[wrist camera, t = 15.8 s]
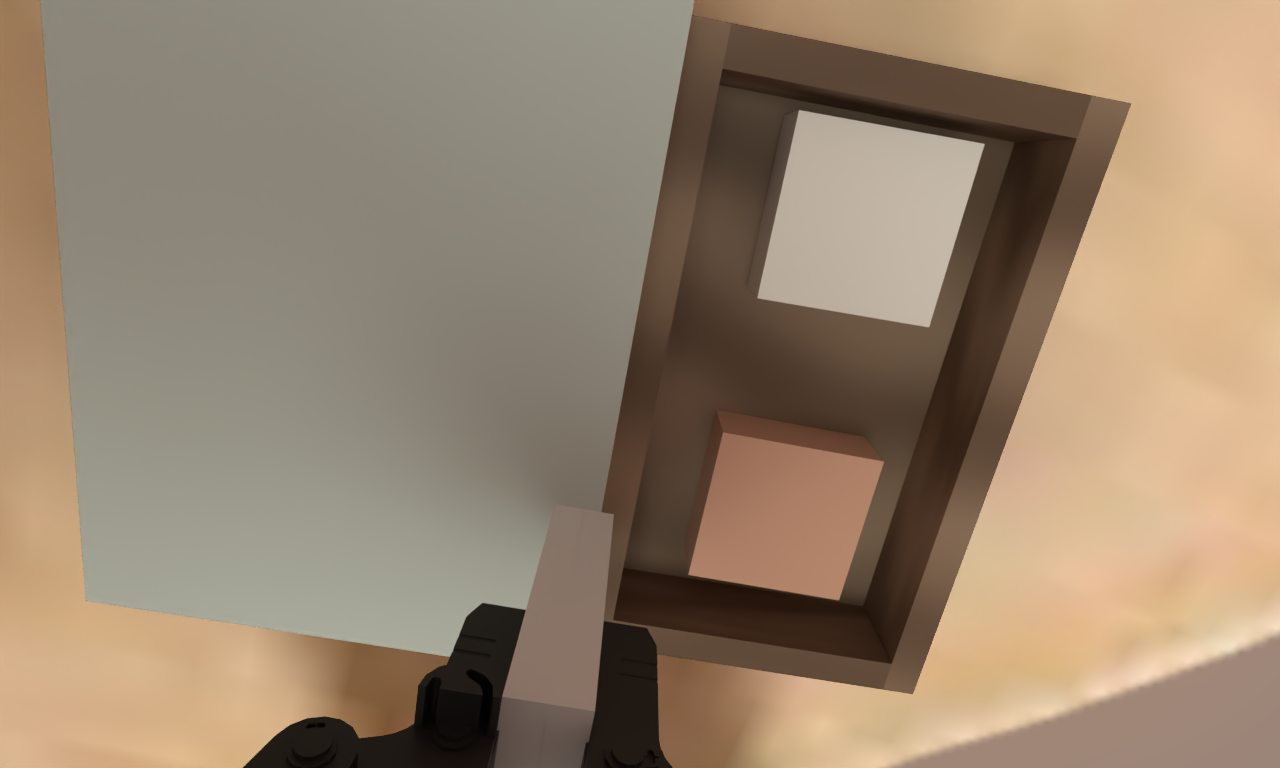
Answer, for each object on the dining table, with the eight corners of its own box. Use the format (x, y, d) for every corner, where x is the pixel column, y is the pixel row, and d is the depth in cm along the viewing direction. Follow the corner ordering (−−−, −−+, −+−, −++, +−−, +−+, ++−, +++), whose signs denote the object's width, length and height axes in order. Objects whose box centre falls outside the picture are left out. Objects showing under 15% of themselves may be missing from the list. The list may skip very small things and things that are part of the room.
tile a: (984, 144, 18) (952, 145, 20) (799, 110, 18) (784, 115, 20) (929, 327, 19) (903, 312, 21) (757, 298, 19) (747, 286, 21)
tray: (682, 40, 20) (690, 15, 16) (1050, 114, 20) (1131, 103, 17) (585, 578, 25) (576, 641, 22) (877, 624, 25) (912, 693, 22)
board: (185, -58, 19) (30, -134, 14) (682, 40, 20) (694, 0, 15) (195, 515, 24) (85, 601, 19) (585, 578, 25) (571, 675, 20)
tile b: (884, 461, 21) (863, 436, 23) (723, 432, 20) (716, 409, 22) (839, 600, 22) (823, 566, 24) (688, 574, 22) (684, 542, 24)
